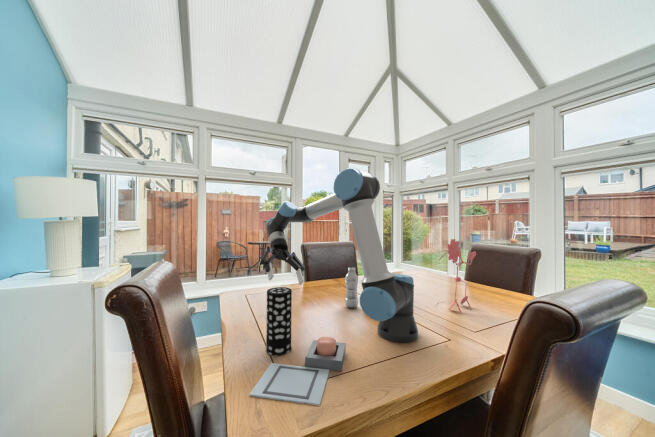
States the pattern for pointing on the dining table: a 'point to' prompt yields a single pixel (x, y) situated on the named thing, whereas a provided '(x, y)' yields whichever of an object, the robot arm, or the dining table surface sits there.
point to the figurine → (453, 255)
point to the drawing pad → (292, 384)
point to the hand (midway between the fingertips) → (287, 280)
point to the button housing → (325, 358)
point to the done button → (326, 346)
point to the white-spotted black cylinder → (279, 321)
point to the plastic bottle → (351, 288)
